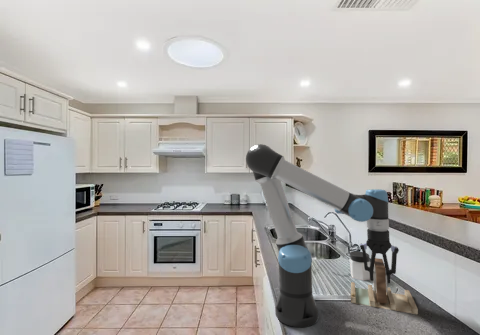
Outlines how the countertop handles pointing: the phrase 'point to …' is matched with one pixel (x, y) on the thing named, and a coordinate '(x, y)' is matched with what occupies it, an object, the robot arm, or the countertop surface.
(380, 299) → the wooden block
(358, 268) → the jar
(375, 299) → the slotted rack
